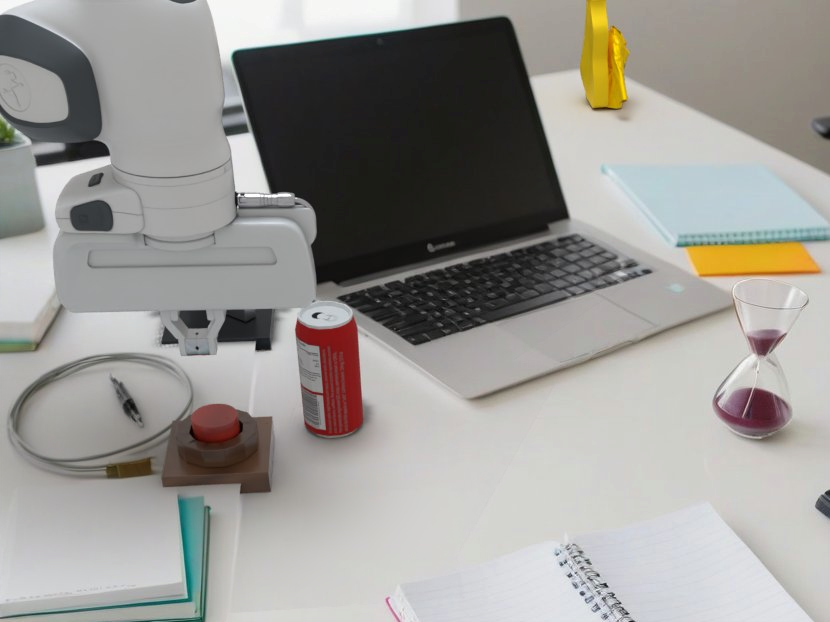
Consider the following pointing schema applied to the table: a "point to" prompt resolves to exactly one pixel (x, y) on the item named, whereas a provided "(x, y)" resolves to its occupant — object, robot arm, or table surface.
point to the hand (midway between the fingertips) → (199, 352)
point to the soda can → (329, 369)
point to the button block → (222, 456)
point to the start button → (215, 423)
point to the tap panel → (231, 328)
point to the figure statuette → (603, 59)
